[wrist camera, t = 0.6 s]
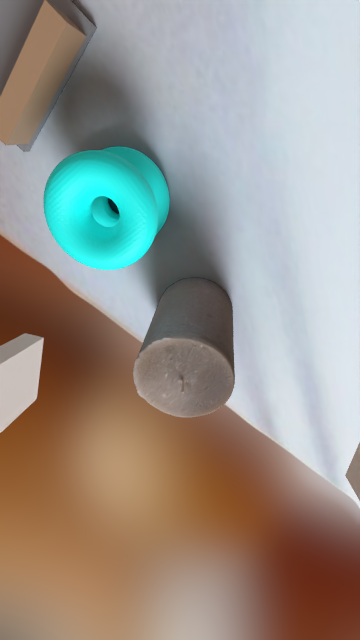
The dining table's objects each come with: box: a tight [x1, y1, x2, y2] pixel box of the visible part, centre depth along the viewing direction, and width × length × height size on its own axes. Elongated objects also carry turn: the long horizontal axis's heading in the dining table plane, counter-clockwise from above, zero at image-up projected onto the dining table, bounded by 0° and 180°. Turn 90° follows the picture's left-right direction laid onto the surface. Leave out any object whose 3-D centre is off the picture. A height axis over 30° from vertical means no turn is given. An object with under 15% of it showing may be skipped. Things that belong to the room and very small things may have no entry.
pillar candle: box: [133, 278, 235, 417], centre depth 35 cm, size 10×10×15 cm
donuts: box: [44, 146, 170, 270], centre depth 31 cm, size 10×10×10 cm
